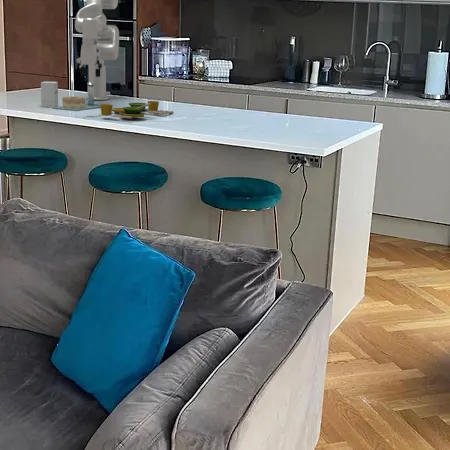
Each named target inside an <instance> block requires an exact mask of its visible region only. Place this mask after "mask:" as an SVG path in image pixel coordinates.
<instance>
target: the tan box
mask: <svg viewBox="0 0 450 450" xmlns="http://www.w3.org/2000/svg"><path fill="white" fill-rule="evenodd" d="M86 104H87V103H86V97H84V96H62V106H63V108H70V109H81V108H86Z"/></svg>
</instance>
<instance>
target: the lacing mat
mask: <svg viewBox="0 0 450 450" xmlns="http://www.w3.org/2000/svg"><path fill="white" fill-rule="evenodd" d="M85 104H86V108H81V109H70V108H63V105H61V106H56V107H51V108H52V109H53V110H62V111H63V110H64V111H70V112H72V111H74V112H79V111H88V110H93V109H101V107H100V104H101V103H100V104H99V103H98V104H97V103H94V106H88V102H87V103H85Z"/></svg>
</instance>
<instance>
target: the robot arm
mask: <svg viewBox="0 0 450 450" xmlns="http://www.w3.org/2000/svg"><path fill="white" fill-rule="evenodd" d="M118 4H119V1H118V0H86V5H85V6H84V7H82V8H80V9H79V10H78V12H77V13H76V16H75V21H74V27H75V30H76V32H78V33H80V34H81V33H82V45H81V48H80V57H78V58H76V59H75V62H76V63H77V66H78V68H79V69H80V72H79V74H80V77H85V76H86V66H88V82H94V101H106V100H107V101H108V100H109V96H110V95H111V91H107V82H106V81H107V78H106V77H107V73H106V71H107V70H106V65H105V64H104V63H105V61H106V60H107V61H114V60H115V61H116V60H117V59H118V57H119V51H120V50H119V49H120V31H119V28H118V27H117V26H116V25H114V24H113V25H112V24H111V25H110V24H107V17H106V15H105V14H104V12H103V9H104V10H115V9H116V8H117V7H118ZM85 100H88V96H86V97H85Z"/></svg>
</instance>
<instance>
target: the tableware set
mask: <svg viewBox="0 0 450 450" xmlns="http://www.w3.org/2000/svg"><path fill="white" fill-rule="evenodd" d="M113 105H114V104H111V103H100V107H101V108H100V113H101V116H104V117H107V116H108V117H109V116H110V117H112V118H113V117H114V118H124V119H133V118H143V117H144V116H156V114H159V115H167V114H174V110H170V111H169V110H163V109H161V110H159V106H160V101H158V100H147V103H146V102H128V105H129V106H123V107H113ZM146 107H148V111H147V112H142V111H144V110H145V109H146ZM112 111H113V112H114V113H118V114H113V115H112V113H113V112H112Z"/></svg>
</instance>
